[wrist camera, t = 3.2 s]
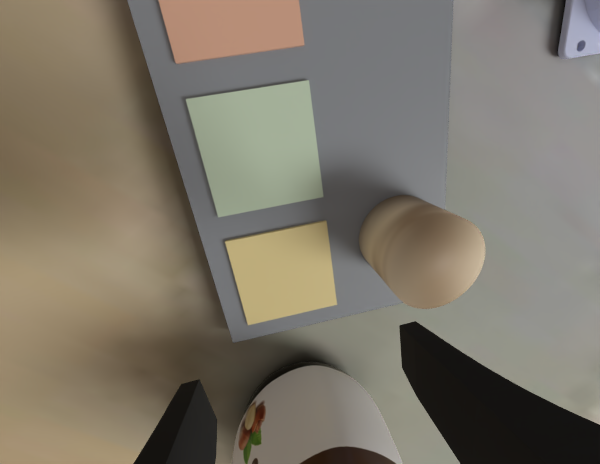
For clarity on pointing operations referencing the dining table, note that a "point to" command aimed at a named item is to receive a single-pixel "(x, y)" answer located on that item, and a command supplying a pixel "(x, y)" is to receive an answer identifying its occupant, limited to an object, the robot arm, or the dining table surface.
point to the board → (299, 140)
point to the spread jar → (313, 421)
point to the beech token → (421, 250)
